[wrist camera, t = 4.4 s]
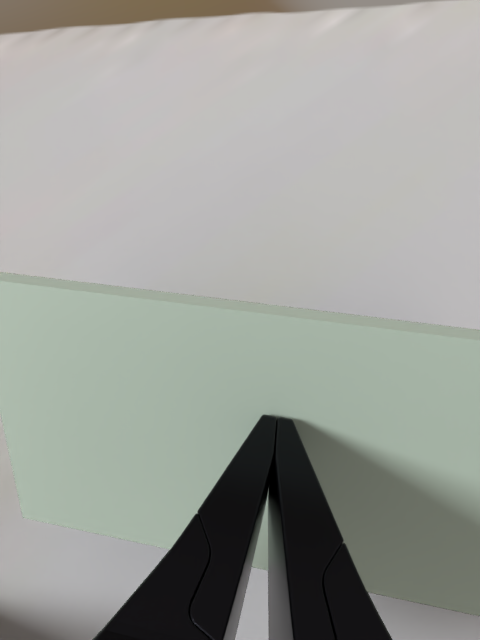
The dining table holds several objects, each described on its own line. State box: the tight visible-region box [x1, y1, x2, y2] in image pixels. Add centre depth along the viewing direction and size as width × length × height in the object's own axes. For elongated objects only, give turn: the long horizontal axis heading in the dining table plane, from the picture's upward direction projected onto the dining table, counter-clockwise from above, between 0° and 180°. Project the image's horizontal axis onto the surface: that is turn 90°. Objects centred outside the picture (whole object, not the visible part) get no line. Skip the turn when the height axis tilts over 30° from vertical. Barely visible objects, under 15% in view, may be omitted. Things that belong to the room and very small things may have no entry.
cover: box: [0, 272, 480, 616], centre depth 10 cm, size 9×18×1 cm
